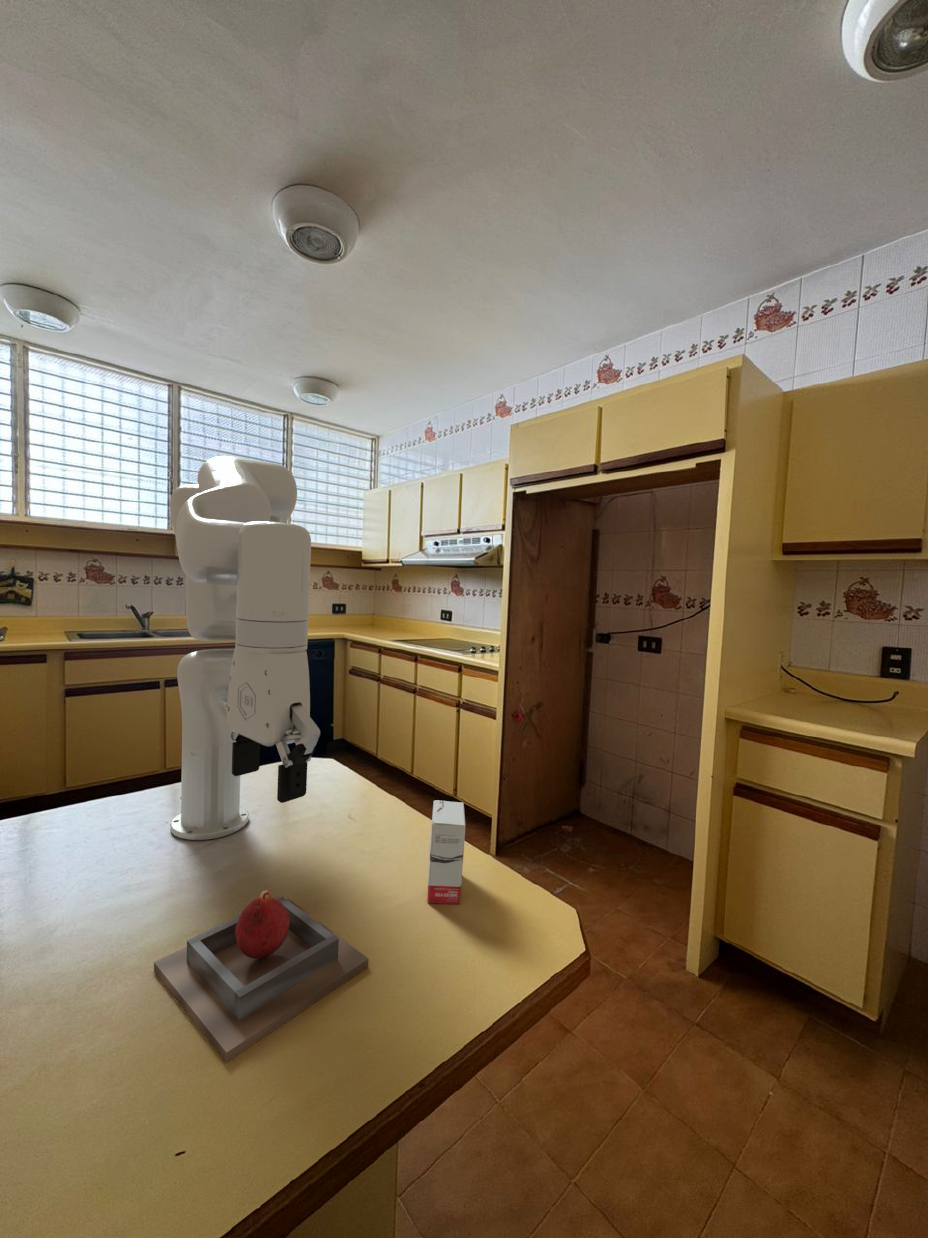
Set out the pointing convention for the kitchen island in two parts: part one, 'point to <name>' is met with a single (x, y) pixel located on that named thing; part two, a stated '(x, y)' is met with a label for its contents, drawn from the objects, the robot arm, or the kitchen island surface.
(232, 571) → the robot arm
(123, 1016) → the kitchen island surface
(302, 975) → the dock
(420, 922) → the kitchen island surface
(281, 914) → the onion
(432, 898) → the ink box
